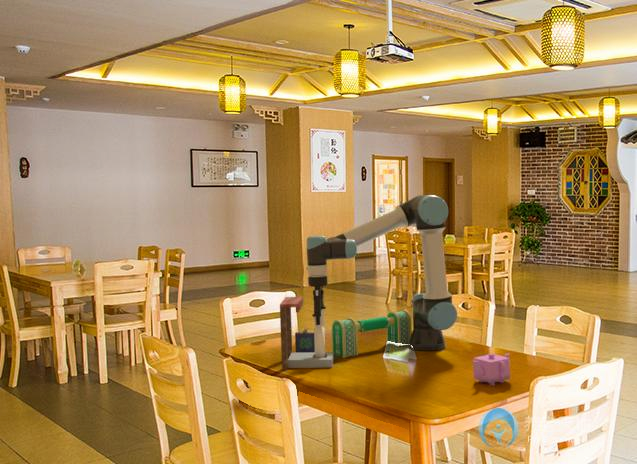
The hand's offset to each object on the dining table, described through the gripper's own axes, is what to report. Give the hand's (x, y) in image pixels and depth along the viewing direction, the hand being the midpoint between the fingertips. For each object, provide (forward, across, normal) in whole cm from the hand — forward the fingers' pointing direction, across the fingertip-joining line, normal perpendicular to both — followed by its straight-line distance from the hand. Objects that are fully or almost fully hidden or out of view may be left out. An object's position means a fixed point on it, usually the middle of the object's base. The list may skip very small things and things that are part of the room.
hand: (320, 329), depth 264 cm
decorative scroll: (+14, -23, +20) cm, 34 cm away
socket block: (+13, 0, -4) cm, 14 cm away
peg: (+14, 0, 0) cm, 14 cm away
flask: (+14, -17, -8) cm, 23 cm away
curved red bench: (+13, 0, -11) cm, 17 cm away
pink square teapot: (+14, +27, +60) cm, 68 cm away
